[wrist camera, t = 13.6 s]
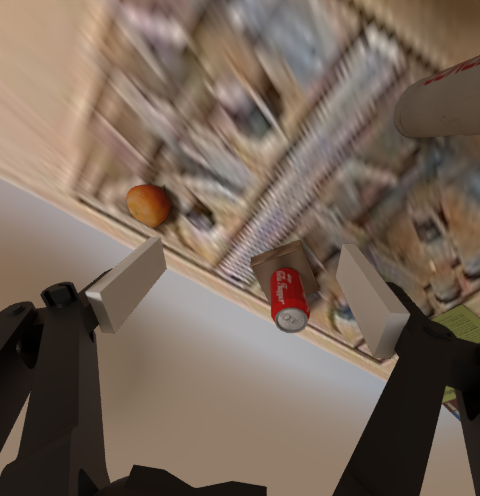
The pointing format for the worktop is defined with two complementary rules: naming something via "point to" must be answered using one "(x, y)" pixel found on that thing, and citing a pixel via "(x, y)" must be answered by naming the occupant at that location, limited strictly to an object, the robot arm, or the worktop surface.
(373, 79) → the worktop surface
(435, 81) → the thermos bottle
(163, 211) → the fruit
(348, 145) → the worktop surface
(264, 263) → the walnut plinth
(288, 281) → the soda can
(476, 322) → the protein box
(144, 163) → the worktop surface
